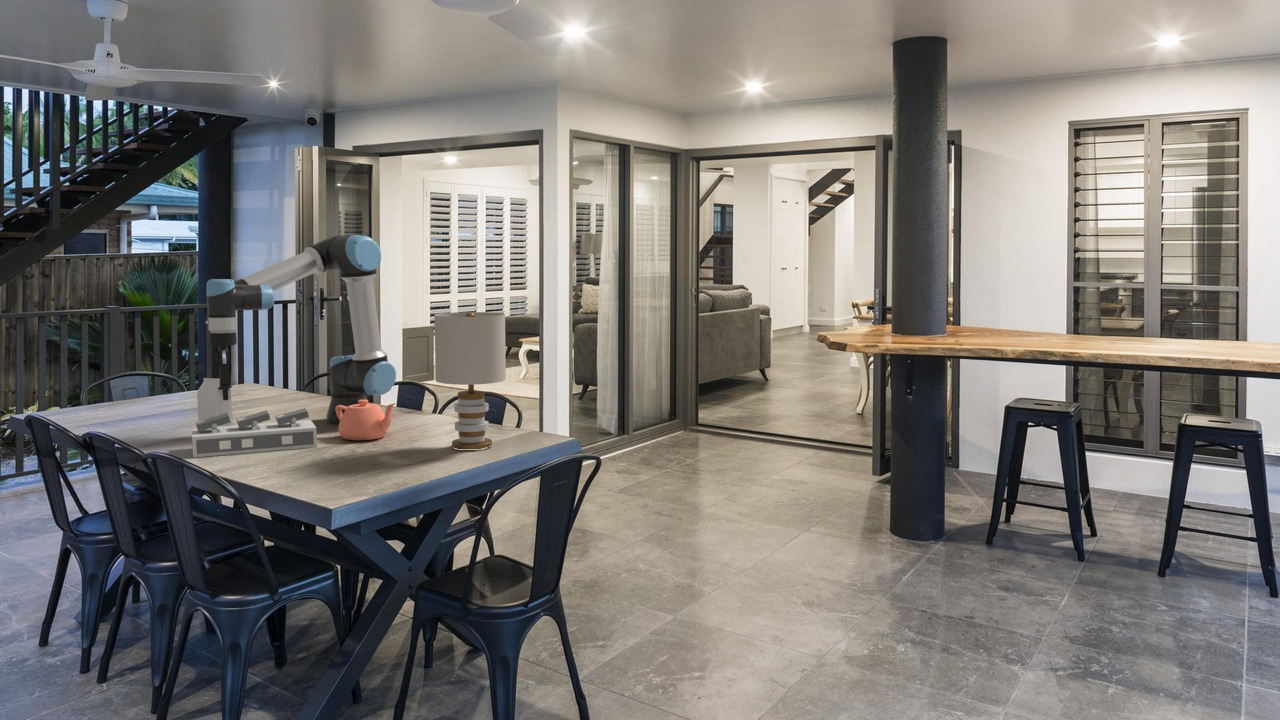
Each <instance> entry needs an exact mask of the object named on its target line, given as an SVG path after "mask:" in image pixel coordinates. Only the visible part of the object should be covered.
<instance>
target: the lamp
mask: <svg viewBox="0 0 1280 720" xmlns="http://www.w3.org/2000/svg"><path fill="white" fill-rule="evenodd" d="M433 317H434V319H433V321H434V322H433V323H434V352H435V353H434V357H435V358H434V360H435V362H434V364H435V365H434V366H435V382H437V383H440V384H443V385H445V384H446V385H460V386H462V385H464V386H465V385H468V387H467V389H468V390H462V391H458V392H457V401H458V402H457V403H455V404H453V406H454V407H453V408H454V410H453V411H454V412H455V413H457V416H458V421H455V422H454V430H455V431H456V432H458V438H456V439H454V440H452V441H451V448H452V447H454V448H457V449H481V448H485V447H489V446H491V445H492V446H493V441H492V439H491V438H487V437H485V436H486V431H487V430H488V429H490V426H489V421H488V420H485V418H486V417H485V416H486V412H488V411H489V403H488V402H485V396H486V395H485V391H482V390H475V385H488V384H495V383H496V384H497V383H501V382H504V381H506V380H507V377H506V376H507V375H506V373H507V372H506V371H507V370H506V368H507V367H506V363H507V361H506V314H505V313H502V312H486V311H485V312H483V311H481V312H480V311H478V312H477V311H476V312H475V311H470V312H469V311H466V312H465V311H462V312H442V313H436V314H435V313H434V315H433Z"/></svg>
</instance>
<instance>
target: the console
mask: <svg viewBox="0 0 1280 720" xmlns="http://www.w3.org/2000/svg"><path fill="white" fill-rule="evenodd" d="M317 434H318V432H317V427H316V425H315V424H314V423H313V421H312V420H311V419H308V420H305V419H303V420H297V421H296V423H292V422H290V423H286V424H283V425H278V423H277V421H276V422H266V423H263V422H262V423H258V424H257V425H256V426H253V425H251V426H247V427H244V428H241V429H239V426H238V424H237V425H233V426H221V427H217V428H216V429H213V428H210V429H207V430H203V431H200V432H198V429H197V427H194V428H191V443H192V458H203V457H204V458H205V457H214V456H226V455H227V456H228V455H238V454H241V455H242V454H252V453H263V452H273V451H284V450H285V451H287V450H296V449H297V450H298V449H309V448H310V449H311V448H317V447H318V439H317Z"/></svg>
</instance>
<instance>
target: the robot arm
mask: <svg viewBox="0 0 1280 720" xmlns="http://www.w3.org/2000/svg"><path fill="white" fill-rule="evenodd" d="M381 261H382V252H381V248H380V245H379V244H378V243H377V242H376V240H374V239H373V238H371V237H370V236H367V235H361V234H351V235H346V234H345V235H342V234H341V235H340V234H339V235H333V236H331V237H328V238H325V239H323V240H320V241H319V242H316V243H314V244H312V245H309V246H308V247H305V249H303V252H301V253H299V254H296V255H294V256H292V257H289V258H287V259H284V260H282V261H279V262H277V263H275V264H273V265H270V266H267V267H265V268H263V269H261V270H258V271H256V272H253V273H251V274H248V275H246V276H244V277H241V278H239V279H237V280H234V279H232V278H230V279H229V278H226V279H225V278H218V279H216V278H215V279H214V278H211V279H209V280H208V281H207V282H206V294H205V296H206V304H207V305H206V307H207V320H206V321H205V324H206V325H208V326H207V327H208V331H209V333H208V345H209V346H213V347H218V350H215V357H216V362H217V367H218V371H219V377H218V378H219V379H220V383H219V384H220V387H218V390H220V402H221V411H231V401H232V398H231V399H230V389H232V388H233V385H231V382H230V367H231V357H232V353H231V350H229V347H228V346H235V345H237V343H238V339H237V332H235V331H236V330H237V315H236V312H239V311H262V310H263V311H264V310H270V309H271V308H272V307H273V305H274V304H275V293H274V291H276V290H278V289H282V288H283V287H285V286H288V285H290V284H292V283H295V282H297V281H299V280H302V279H303V278H306V277H309V276H311V275H313V274H315V275H321V274H323V273H325V272H330V271H339V275H340V279H342V280H343V281H345V283H346V291H347V298H348V299H347V300H348V307H349V315H350V321H351V322H350V323H351V328H352V336H353V344H354V350H355V352H354V354H350V355H342V356H340V355H339V356H333V357H331V359H330V360H329V378H330V380H329V381H330V402H329V406H328V408H327V412H326V422H327V423H331V424H336V425H337V424H338V425H339V424H340V420H339V419H338V417H337V414H336V410H335V408H336V406H338V405H343V406H346V407H348V406H350V405H355V404H359V403H358V400H367V397H366V395H369V396H383V395H385V394H387V393H389V392H390V391H391V390H392V388H393V386H394V385H395V384H396V383H395V382H396V380H397V371H396V367H394V365H392V363H390V362H389V361H388V354H387V352H386V351H384V350H383V349H382V343H381V342H382V341H381V335H380V327H379V326H380V325H379V320H378V319H379V317H378V312H377V304H376V296H375V289H374V279H375V277H376V276H377V274H378V273H377V268H378V267H379V265H380V263H381ZM367 404H369V402H368V403H367ZM344 412H345V410H343V409H342V414H344Z"/></svg>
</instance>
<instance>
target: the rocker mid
mask: <svg viewBox="0 0 1280 720" xmlns="http://www.w3.org/2000/svg"><path fill="white" fill-rule="evenodd" d="M270 420H271V417H270V414H269V411H268V410H267V409H266V410H262V411H260V412H256V413H253V414H249V415H246V416H243V417H240V418H236V423H237V425H238V426H239V429H241V428H244V427H247V426H251V425H253V426H256V425H257V424H262V423H263V422H267V421H270Z"/></svg>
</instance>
